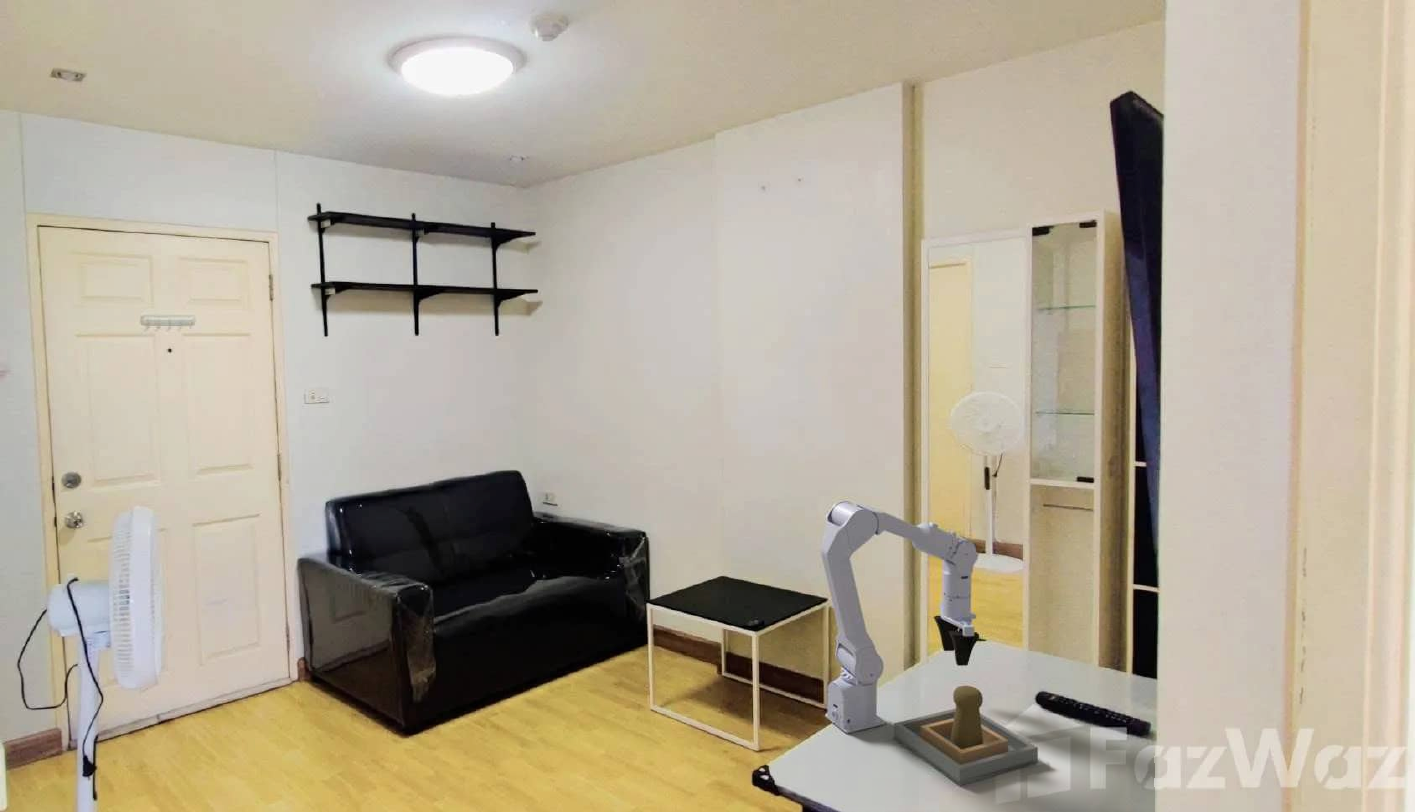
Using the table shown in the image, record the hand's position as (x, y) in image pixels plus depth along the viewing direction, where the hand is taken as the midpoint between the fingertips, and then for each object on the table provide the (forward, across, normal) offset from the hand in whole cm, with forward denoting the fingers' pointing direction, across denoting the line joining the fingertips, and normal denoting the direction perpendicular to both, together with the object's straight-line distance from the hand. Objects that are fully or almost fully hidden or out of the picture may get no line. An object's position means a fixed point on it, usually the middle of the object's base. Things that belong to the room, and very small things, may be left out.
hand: (955, 657), depth 163 cm
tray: (+10, -18, +5) cm, 21 cm away
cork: (+10, -18, +4) cm, 21 cm away
